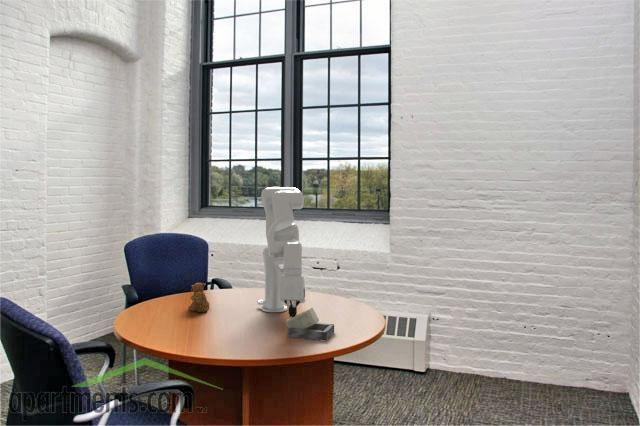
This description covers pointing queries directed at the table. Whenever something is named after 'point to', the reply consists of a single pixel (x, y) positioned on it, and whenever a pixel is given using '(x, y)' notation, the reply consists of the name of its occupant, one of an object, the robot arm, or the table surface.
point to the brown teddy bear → (199, 299)
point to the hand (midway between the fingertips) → (292, 316)
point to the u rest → (313, 332)
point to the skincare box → (303, 319)
